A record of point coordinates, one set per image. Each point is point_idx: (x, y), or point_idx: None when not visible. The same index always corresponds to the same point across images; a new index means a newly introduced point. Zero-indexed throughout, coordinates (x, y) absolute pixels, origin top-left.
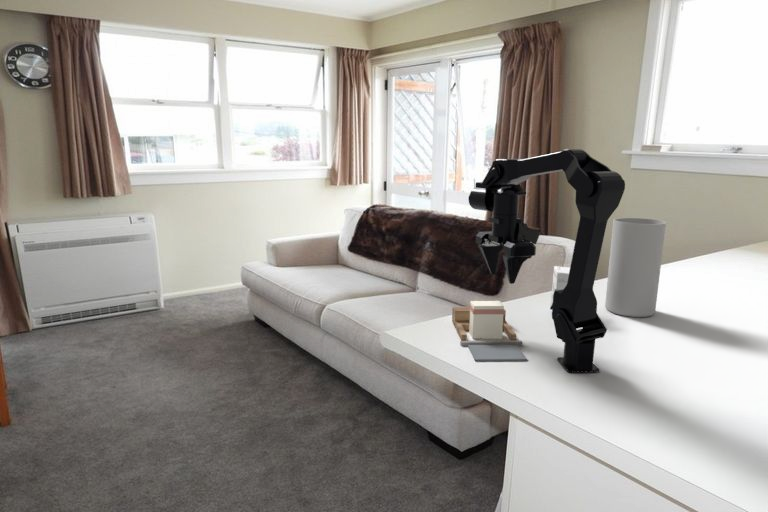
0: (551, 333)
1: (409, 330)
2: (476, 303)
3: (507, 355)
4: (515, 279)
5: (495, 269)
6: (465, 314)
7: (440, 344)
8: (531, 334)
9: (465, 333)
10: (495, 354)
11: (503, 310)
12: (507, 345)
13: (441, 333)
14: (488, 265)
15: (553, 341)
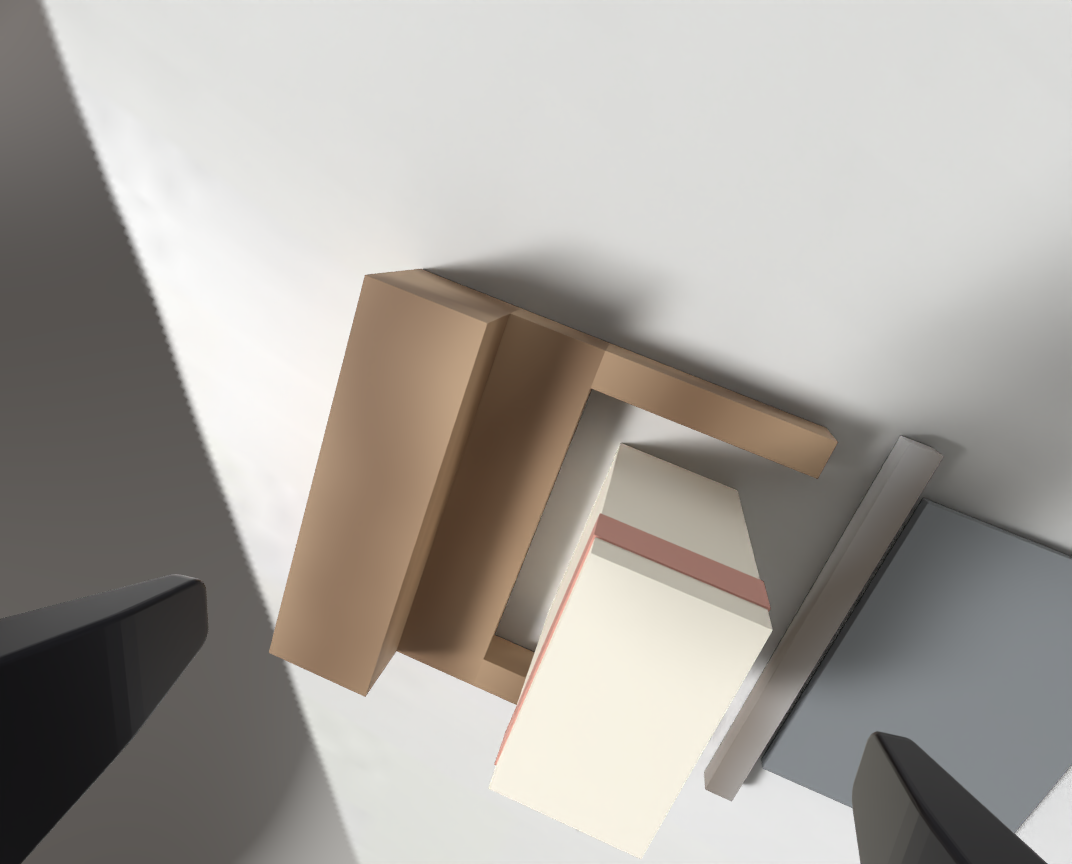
0: (839, 21)
1: (400, 860)
2: (579, 794)
3: (1057, 681)
4: (973, 804)
5: (139, 631)
6: (398, 613)
7: (656, 853)
8: (773, 222)
9: None
10: (994, 732)
11: (767, 605)
12: (906, 570)
13: None
14: (59, 808)
15: (1006, 143)
